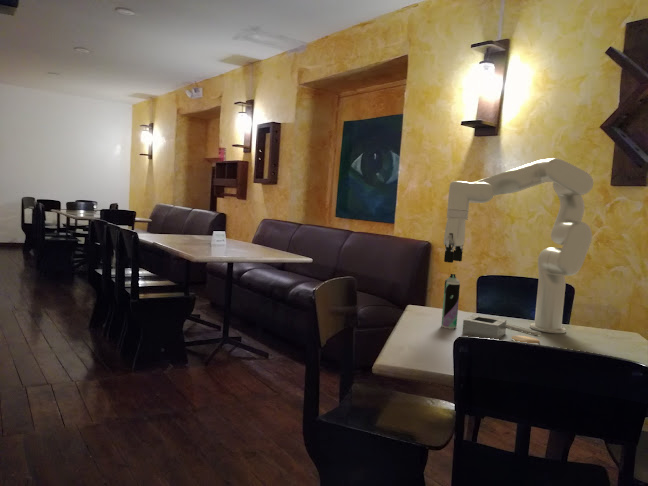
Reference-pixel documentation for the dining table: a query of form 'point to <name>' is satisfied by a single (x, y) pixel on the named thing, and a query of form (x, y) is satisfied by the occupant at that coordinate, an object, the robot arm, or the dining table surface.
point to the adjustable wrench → (522, 329)
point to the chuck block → (484, 326)
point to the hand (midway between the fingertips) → (452, 261)
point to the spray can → (450, 302)
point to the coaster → (525, 339)
